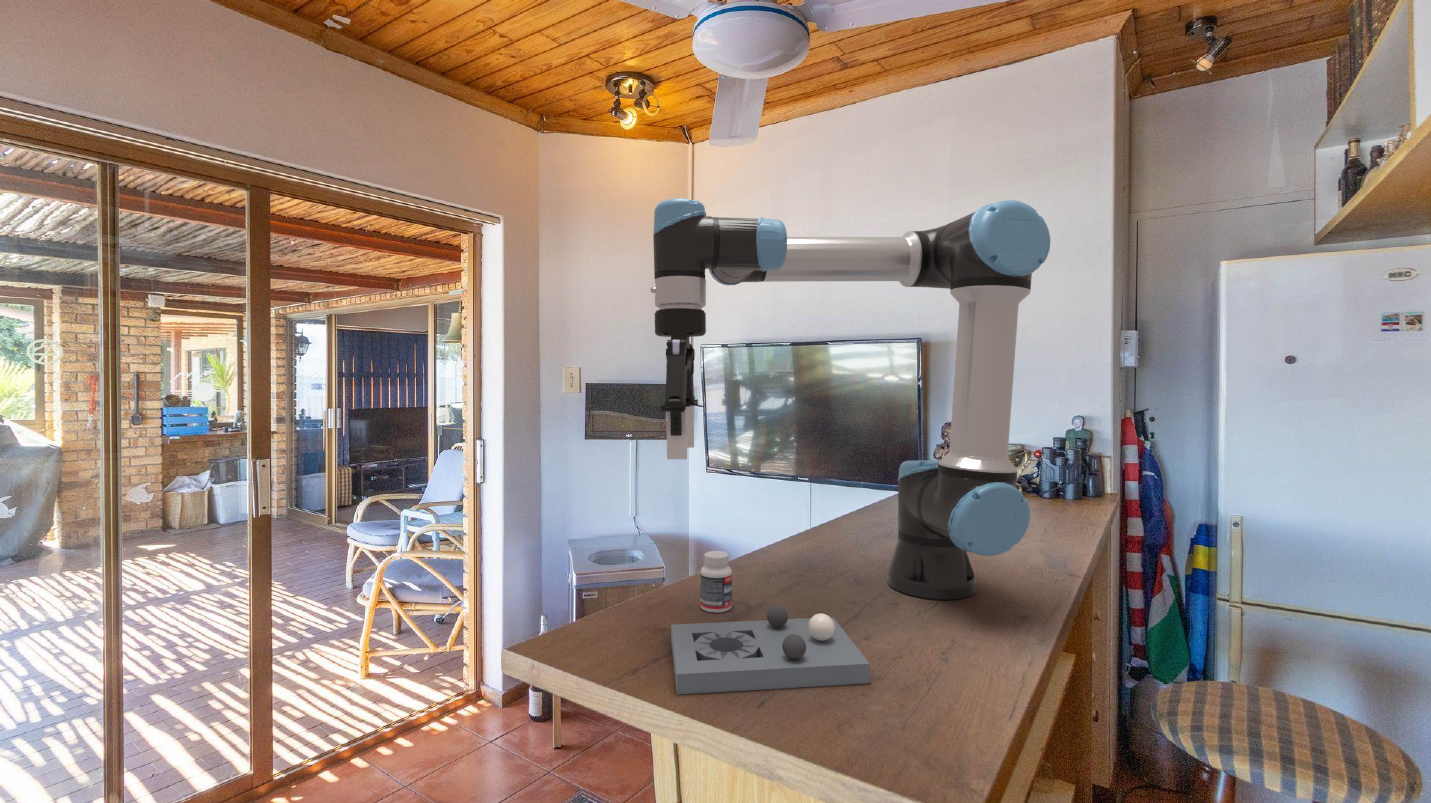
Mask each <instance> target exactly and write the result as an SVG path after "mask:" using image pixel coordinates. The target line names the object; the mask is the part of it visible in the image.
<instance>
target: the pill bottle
mask: <svg viewBox="0 0 1431 803" xmlns="http://www.w3.org/2000/svg"><path fill="white" fill-rule="evenodd" d="M703 556H704V557H703V563H704V566H702V567H701V568H700V598H699V600H700V602H699V605H700V609H702V610H703V611H704V612H708V613H713V612H714V613H716V614H717V613H718V614H719V613H725V612H727V611H730V610H731V609H732V607H733V570H732V568H731V567H730V566H729V565H728V564H729V561H730V560H729V554H728V552H725V551H720V550H719V551H718V550H713V551H712V550H711V551H707V552H705V553H704V555H703Z"/></svg>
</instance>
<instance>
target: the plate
mask: <svg viewBox="0 0 1431 803" xmlns="http://www.w3.org/2000/svg"><path fill="white" fill-rule="evenodd" d="M829 617H830V618H831V619H832V620H833V622H834V626H835V630H834V634H833V635H832V637H831V638H830V639H828V640H826V641H819V640H816V639H815V638H813V637H812V635H811V634H810V632H809V627H808V626H809V621H810V619H811V618H812V617H810V618H806V617H805V618H788V620H787V622H786V624H785V625H784V626H782V627H779V628H776V627H773V626H772V625H770V624H769V622H768V620H767V619H766V620H765V619H764V620H763V619H761V620H744V621H743V620H742V621H740V620H739V621H724V622H723V621H720V622H702V623H701V622H699V623H680V624H679V623H678V624H677V623H676V624H670V629H671V630H670V642H671V652H672V661H673V672H674V682H675V691H676V695H691V694H693V695H695V694H709V693H710V694H712V693H727V692H745V691H758V690H759V691H760V690H762V691H763V690H777V689H778V690H779V689H780V690H781V689H795V688H796V689H797V688H812V687H828V686H829V687H830V686H831V687H832V686H845V685H847V686H848V685H849V686H850V685H860V684H861V685H863V684H865V685H866V684H870V683H871V682H870V681H871V680H870V678H871V674H870V671H871V663H870V661H868V659H867V658H866V657H865V656H864V654H863V653H862V652H861V650H860V649H859V647H857V645H856V644H855V643H854V642H853V640H852V639H851V638H850V636H849V635H848V634H847V633H846V631H845V630H844V629H843V628H842V626H841V625H840V624H839V622H838V621H837V620H836V619H835V618H834V616H832V617H831V616H829ZM791 634H797V635H799V636H801V637H802V638H803V639H804V641H805V643H806V652H805V654H804V655H803V656H802V657H801V658H799V659H795V660H794V659H790V658H788V657H787V656H786V655H785V654H784V652H783V648H782V644H783V641H784V639H785V638H786V637H787V636H788V635H791Z"/></svg>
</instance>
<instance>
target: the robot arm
mask: <svg viewBox="0 0 1431 803" xmlns="http://www.w3.org/2000/svg"><path fill="white" fill-rule="evenodd" d="M705 208H706V207H705V205H704V204H703V203H702V202H701V201H699V200H696V199H689V198H684V197H683V198H680V197H679V198H676V197H675V198H669V199H665V200H662V201H661V202H659V203H657V205H656V207H655V208H654V213H653V215H654V216H653V272H654V284H655V286H651V287H650V293H652V294H654V306H655V307H656V308H658V309H657V310H656V311H655V312H654V334H655V335H656V336H657V337H663V338H664V337H665V338H666V337H667V338H670V339H667V340H666V341H667V342H666V346H667V347H666V348H665V357H666V358H665V359H666V366H665V367H666V368H665V369H666V375H665V376H666V377H665V394H664V396H665V398H664V399H665V400H664V401H663V402H664V403H663V404H661V405H660V412H662V413H665V412H666V415H665V416H666V460H688V448H689V449H690V448H695V406H696V407H697V406H698V405H699V399H695V398H696V396H695V393H694V392H695V391H694V387H695V386H694V372H695V362H694V361H695V357H696V352H695V349H694V347H693V344H692V343H690V337H696V338H697V337H704V336H705V334H706V332H707V324H706V322H707V320H706V319H707V318H706V311H705V310H703V308H704V307H706V305H707V280H706V270H708V271H709V274H710V275H711V277H712V278H713V279H714V280H715V281H716V283H717V282H718V283H719V284H720V285H724V286H735V285H738V284H741V283H762V282H765V283H767V282H768V283H769V282H775V283H776V282H783V283H784V282H898V283H899V284H900V285H902V286H903V287H905V288H932V289H933V288H934V289H945V290H949V289H950V292H949V293H950V295H951V296H952V297H953V298H954V299H955V301H957V302H958V305H959V307H958V320H957V337H956V348H955V349H956V350H955V362H954V363H955V364H954V366H955V367H954V378H953V379H954V380H953V393H952V406H951V408H952V409H951V424H950V436H949V450H948V453H947V454H946V455H945V456H943V457H942V458H941V459H933V460H932V459H928V460H919V459H918V460H905V461H903V462H902V463H901V464H900V466H899V469H898V478H897V483H898V486H897V488H898V490H897V491H898V493H897V494H898V495H897V499H898V500H897V506H898V507H897V509H898V510H897V514H898V515H897V542H896V545H895V549H894V551H893V554H892V557H891V559H890V562H889V564H888V567H887V584H888V585H889V586H890V587H891V588H892V589H894V590H896V591H897V592H901V593H903V594H905V595H909V596H914V597H917V598H924V599H929V600H945V601H946V600H959V599H965V598H968V597H970V596H972V595H973V594H975V592H976V584H977V582H976V576H975V572H974V569H973V567H972V563H971V559H970V556H969V554H968V552H969V553H973V554H975V555H977V556H978V555H979V556H983V557H993V556H998V555H1002V554H1004V553H1006V552H1009V551H1010V550H1012V548H1013V547H1014V546H1016V545H1017V544H1019V543H1020V542H1021V540H1022V539H1023V538H1024V536H1025V534H1026V532H1027V531H1028V529H1029V525H1030V521H1031V508H1030V505H1029V502H1028V500H1027V498H1025V497H1024V494H1023V493H1022V492H1021V491H1020V489H1018V488H1017V480H1018V468H1017V467H1016V466H1015V465H1014V464H1013V462H1012V461H1011V460H1010V459H1009V456H1008V455H1009V444H1010V441H1009V440H1010V430H1011V427H1010V426H1011V416H1012V415H1011V413H1012V401H1013V385H1014V373H1015V362H1016V361H1015V359H1016V348H1017V346H1016V345H1017V330H1018V318H1019V317H1018V316H1019V305H1020V303H1021V302H1023V300H1025V299H1026V298H1027V297H1028V296H1029V295H1030V294H1031V289H1032V288H1031V287H1032V278H1033V277H1032V276H1033V275H1032V274H1033V273H1034V272H1035V271H1036V270H1038V269H1039V268H1040V267H1041V266H1042V264H1044V263H1045V261H1046V260H1047V258H1048V255H1049V254H1050V250H1051V235H1050V234H1051V233H1050V230H1049V227H1048V225H1047V223H1046V220H1045V219H1044V217H1042V216H1041V215H1039V213H1038V212H1037V210H1036V209H1035V208H1034V207H1032V206H1031V205H1030V204H1027V203H1025V202H1023V201H1019V200H1015V199H1005V200H1004V199H1003V200H999V201H997V202H994V203H989V204H986V205H983V206H981V207H979V208H978V209H977V210H976V211H974V212H972V213H969V214H968V215H965V216H963V217H960V218H958V219H955V220H953V221H952V222H950V223H947V224H945V225H942V226H939V227H936V228H929V229H926V230H910V231H909V230H908V231H906V232H905V233H904V234H903V235H902V236H788V234H787V228H786V225H785V223H784V222H783V221H782V220H780V219H774V218H767V217H765V218H764V217H762V216H760V217H759V218H758V217H716V216H714V217H713V216H710V215H707V213H706V209H705Z"/></svg>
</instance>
